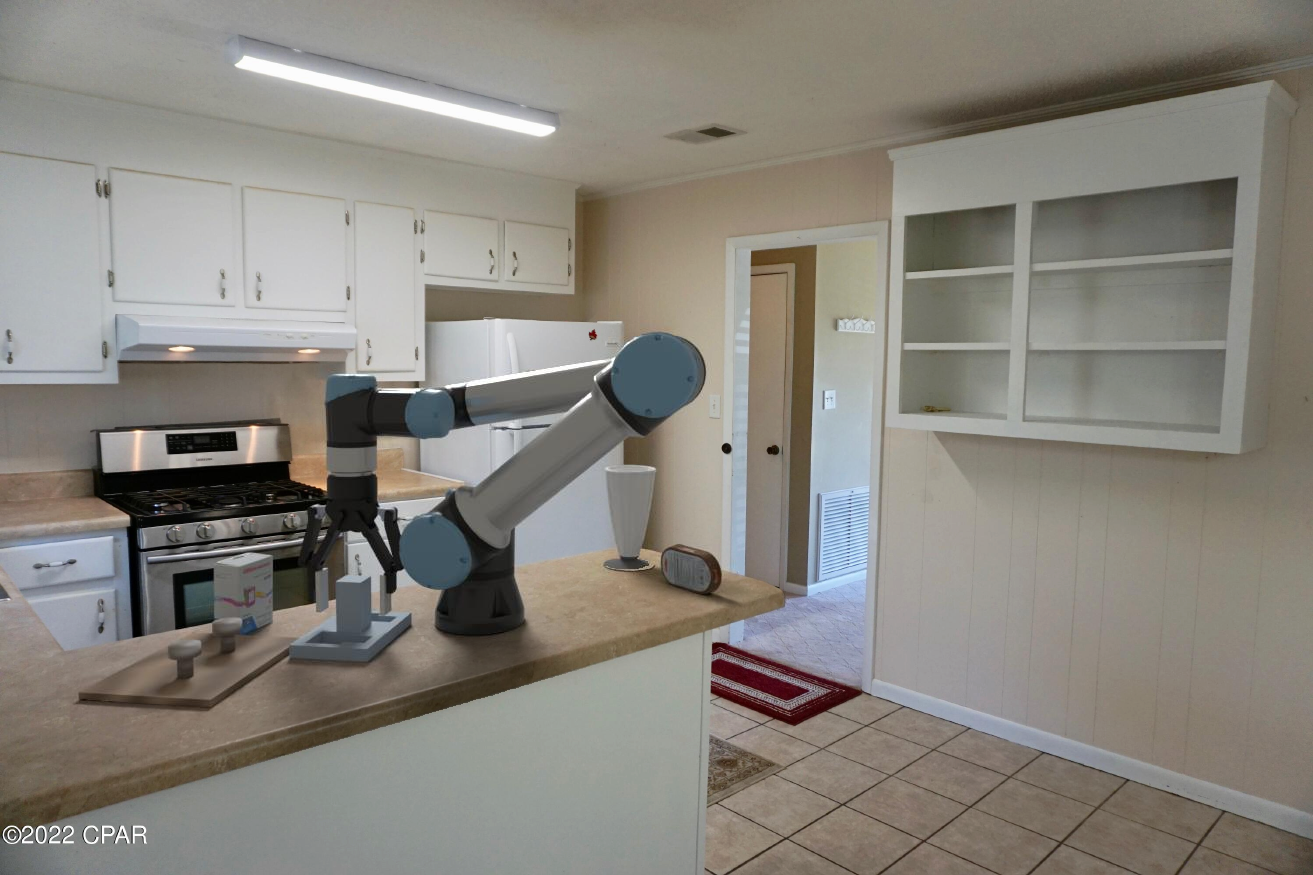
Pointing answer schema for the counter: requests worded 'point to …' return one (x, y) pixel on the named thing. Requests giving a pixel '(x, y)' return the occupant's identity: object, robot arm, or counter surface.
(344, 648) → the panel
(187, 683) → the boss board
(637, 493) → the cup
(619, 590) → the counter surface
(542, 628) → the counter surface
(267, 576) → the ink box
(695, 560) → the tin
